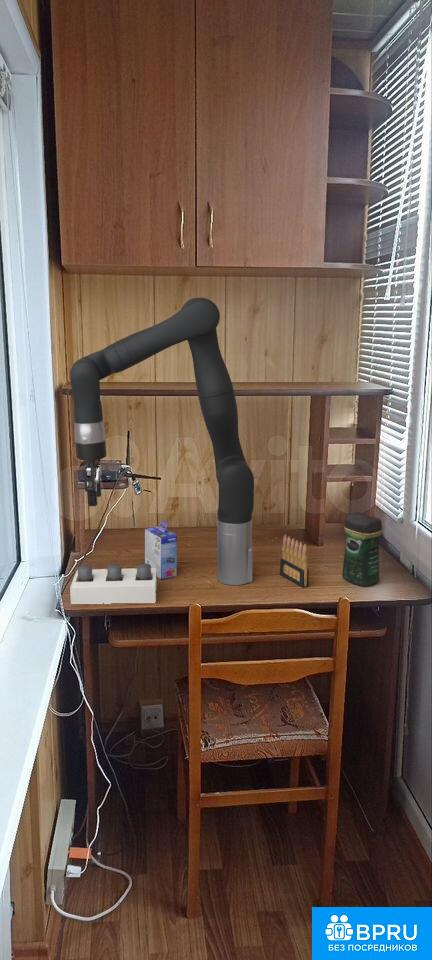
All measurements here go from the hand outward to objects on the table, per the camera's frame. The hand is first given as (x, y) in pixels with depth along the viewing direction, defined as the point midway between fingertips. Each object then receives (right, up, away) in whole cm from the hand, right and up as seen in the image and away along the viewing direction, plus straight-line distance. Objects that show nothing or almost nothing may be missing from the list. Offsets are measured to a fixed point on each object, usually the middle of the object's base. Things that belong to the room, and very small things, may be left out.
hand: (95, 501), depth 181 cm
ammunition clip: (+52, -22, +10) cm, 58 cm away
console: (+5, -24, +1) cm, 25 cm away
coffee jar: (+70, -22, +10) cm, 74 cm away
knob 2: (+13, -20, 0) cm, 24 cm away
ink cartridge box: (+16, -21, +16) cm, 31 cm away
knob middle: (+5, -21, 0) cm, 21 cm away
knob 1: (-2, -21, -1) cm, 21 cm away
